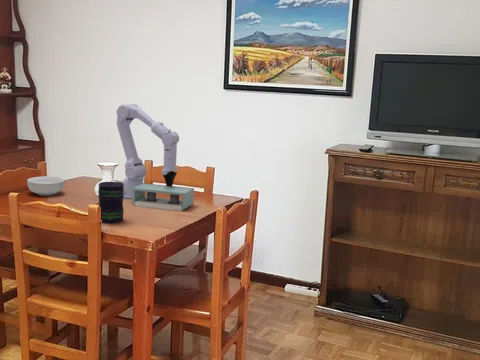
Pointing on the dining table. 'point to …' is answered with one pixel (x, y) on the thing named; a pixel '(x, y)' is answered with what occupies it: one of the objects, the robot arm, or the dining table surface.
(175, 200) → the block
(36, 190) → the cereal bowl
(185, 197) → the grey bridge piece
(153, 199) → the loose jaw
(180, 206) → the grey base plate
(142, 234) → the dining table surface
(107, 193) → the storage jar
